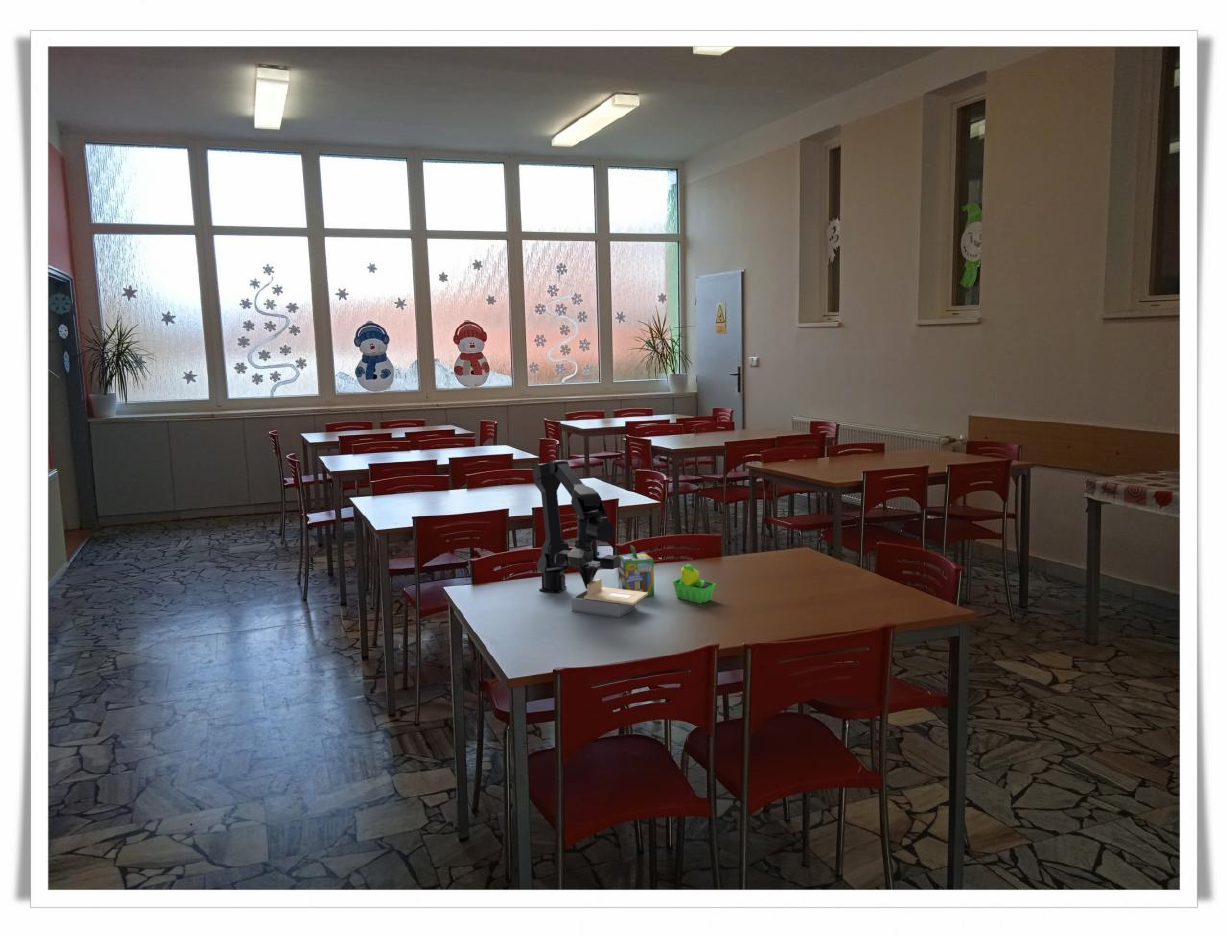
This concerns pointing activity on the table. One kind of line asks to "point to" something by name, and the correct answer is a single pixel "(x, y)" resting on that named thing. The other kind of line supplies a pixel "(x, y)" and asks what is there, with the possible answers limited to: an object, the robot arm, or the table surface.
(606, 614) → the grey shallow rectangular container
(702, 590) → the fruit basket
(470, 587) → the table surface
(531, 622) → the table surface
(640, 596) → the lid
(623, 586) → the chalk box
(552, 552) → the robot arm
